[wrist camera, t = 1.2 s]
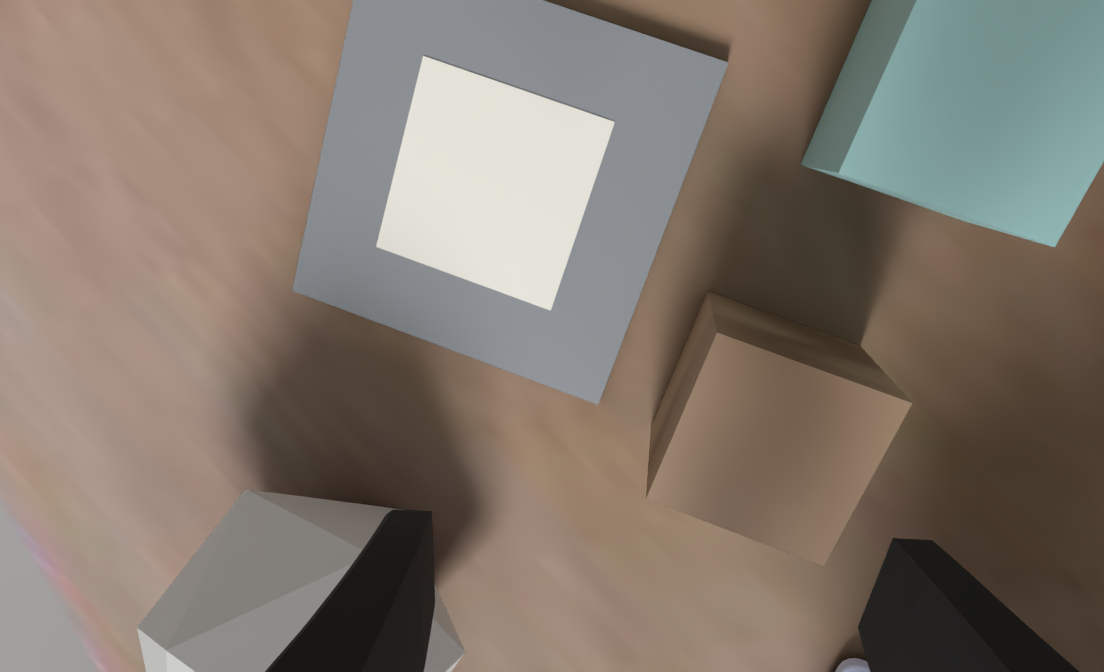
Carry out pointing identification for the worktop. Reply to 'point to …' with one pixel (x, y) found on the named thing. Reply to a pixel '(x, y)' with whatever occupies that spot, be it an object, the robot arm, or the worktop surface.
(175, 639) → the die
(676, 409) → the walnut block
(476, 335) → the grey square plate
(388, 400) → the worktop surface
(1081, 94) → the teal block
